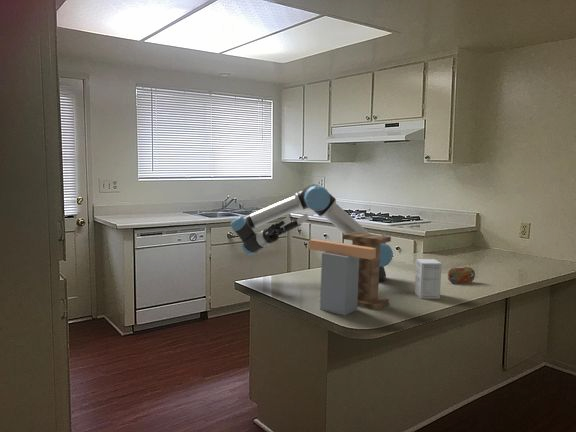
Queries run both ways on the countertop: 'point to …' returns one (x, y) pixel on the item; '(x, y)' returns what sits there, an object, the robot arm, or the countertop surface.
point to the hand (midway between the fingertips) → (298, 217)
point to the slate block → (339, 283)
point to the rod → (343, 249)
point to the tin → (461, 275)
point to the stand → (369, 270)
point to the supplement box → (428, 278)
